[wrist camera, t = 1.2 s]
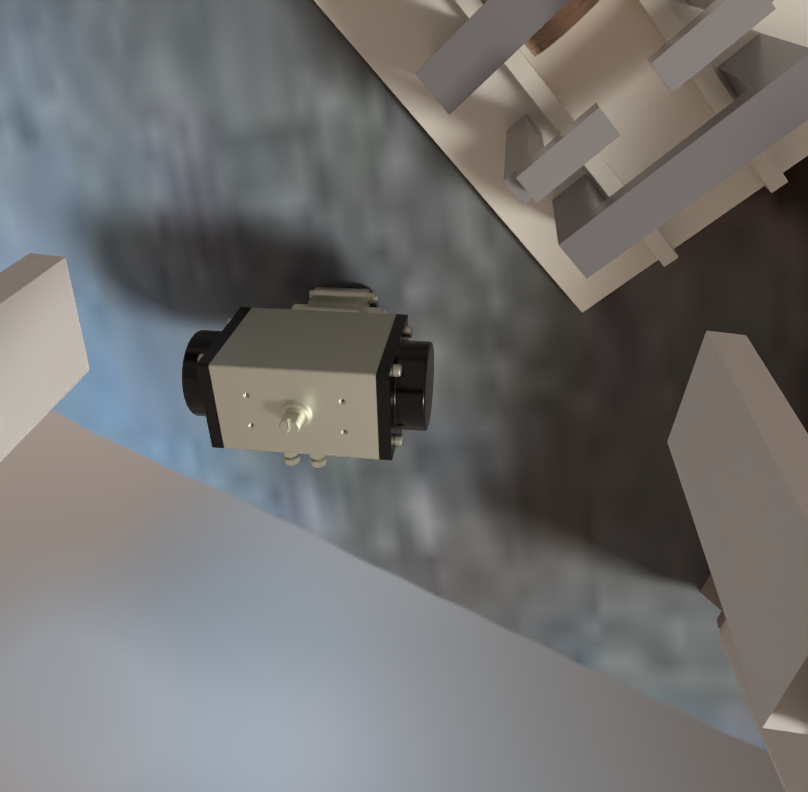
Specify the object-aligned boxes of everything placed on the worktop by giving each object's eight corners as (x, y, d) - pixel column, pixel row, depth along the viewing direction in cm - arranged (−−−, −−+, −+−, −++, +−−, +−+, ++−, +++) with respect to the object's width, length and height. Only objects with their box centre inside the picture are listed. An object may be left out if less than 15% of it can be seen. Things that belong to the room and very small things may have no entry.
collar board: (226, -109, 31) (101, -138, 21) (512, -517, 23) (508, -827, 14) (580, 305, 39) (600, 413, 29) (875, 97, 31) (1024, 155, 22)
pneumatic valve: (244, 271, 40) (154, 375, 30) (444, 279, 39) (419, 390, 29) (256, 354, 43) (178, 474, 33) (442, 364, 42) (419, 493, 32)
